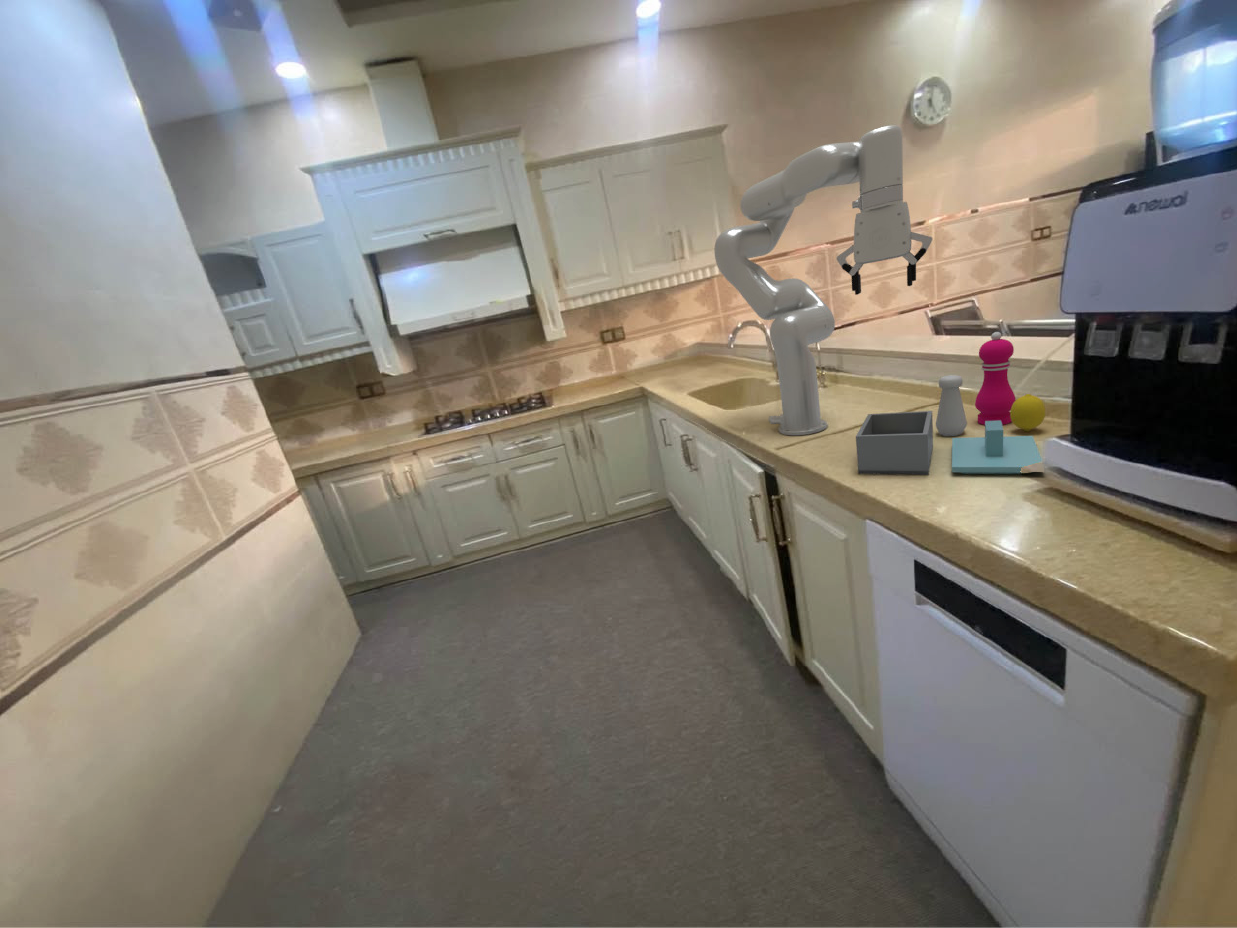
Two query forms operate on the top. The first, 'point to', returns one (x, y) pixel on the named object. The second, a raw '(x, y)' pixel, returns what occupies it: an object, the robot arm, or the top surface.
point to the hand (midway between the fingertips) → (883, 289)
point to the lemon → (1027, 412)
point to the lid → (993, 452)
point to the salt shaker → (951, 407)
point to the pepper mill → (995, 381)
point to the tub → (895, 443)
